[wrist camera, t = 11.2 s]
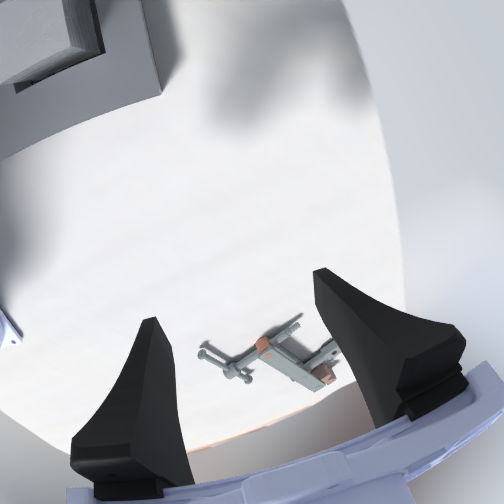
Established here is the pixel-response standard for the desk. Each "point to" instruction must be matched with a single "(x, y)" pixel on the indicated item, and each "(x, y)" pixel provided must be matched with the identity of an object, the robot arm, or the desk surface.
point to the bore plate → (83, 82)
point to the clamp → (283, 361)
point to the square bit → (44, 37)
